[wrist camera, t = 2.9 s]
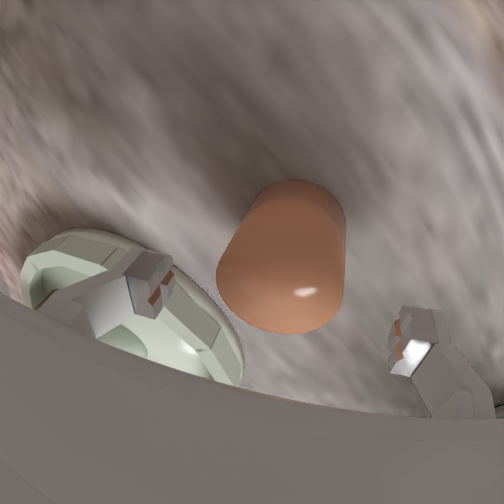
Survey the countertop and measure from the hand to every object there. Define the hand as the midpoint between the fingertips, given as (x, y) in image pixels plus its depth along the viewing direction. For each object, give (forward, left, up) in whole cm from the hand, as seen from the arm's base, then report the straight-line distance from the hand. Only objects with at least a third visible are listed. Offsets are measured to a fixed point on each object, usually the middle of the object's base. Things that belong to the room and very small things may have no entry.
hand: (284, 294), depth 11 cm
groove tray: (+10, -10, -3) cm, 15 cm away
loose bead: (-1, 0, -3) cm, 3 cm away
